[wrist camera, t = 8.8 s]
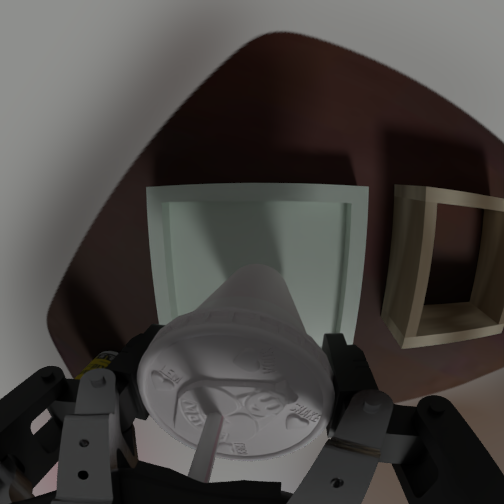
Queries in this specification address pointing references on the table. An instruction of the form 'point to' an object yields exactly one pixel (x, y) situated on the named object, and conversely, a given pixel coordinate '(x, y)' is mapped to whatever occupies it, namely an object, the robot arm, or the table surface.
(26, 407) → the robot arm
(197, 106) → the table surface
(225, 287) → the smoothie
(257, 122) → the table surface
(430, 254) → the holder
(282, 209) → the tray
